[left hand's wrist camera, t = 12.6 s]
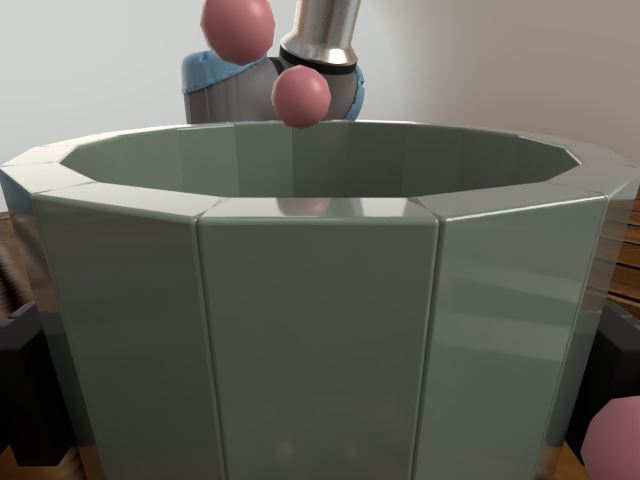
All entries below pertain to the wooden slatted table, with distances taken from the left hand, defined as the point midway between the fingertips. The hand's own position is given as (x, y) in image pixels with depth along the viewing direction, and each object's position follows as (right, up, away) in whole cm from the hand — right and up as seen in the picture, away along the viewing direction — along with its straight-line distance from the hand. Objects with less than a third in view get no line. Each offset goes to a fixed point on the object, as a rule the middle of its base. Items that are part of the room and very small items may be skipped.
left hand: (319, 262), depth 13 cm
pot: (0, -8, -1) cm, 8 cm away
